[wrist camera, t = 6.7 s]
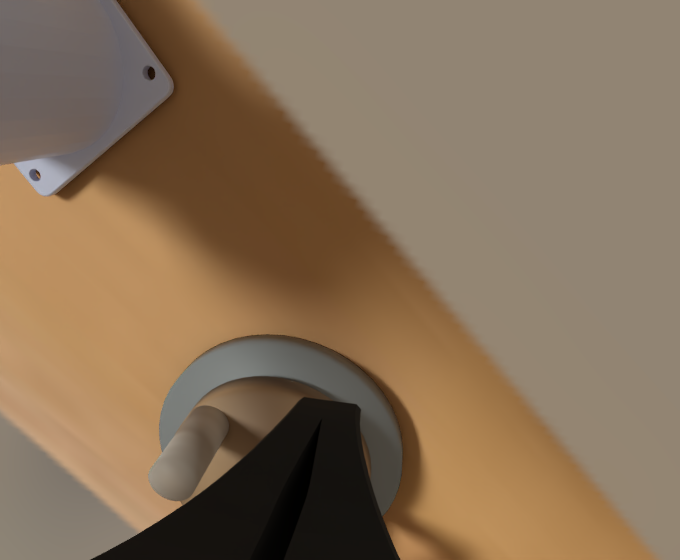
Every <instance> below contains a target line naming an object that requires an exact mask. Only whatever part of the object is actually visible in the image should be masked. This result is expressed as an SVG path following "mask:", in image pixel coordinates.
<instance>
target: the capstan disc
mask: <svg viewBox="0 0 680 560" xmlns="http://www.w3.org/2000/svg"><path fill="white" fill-rule="evenodd" d="M303 397H308V398H315V399H322V400H330V401H333V400H332V399H330V398H329V397H327V396H326V395H324V394H322V393H321V392H319V391H317V390H315V389H313V388H311V387H309V386H307V385H304V384H301V383H299V382H296V381H292V380H288V379H284V378H278V377H270V376H252V377H244V378H239V379H235V380H231V381H229V382H226V383H224V384H221V385H219V386H217V387H216V388H214V389H212V390H211V391H209V392H208V393H207V394H206V395H204V396H203V397H202V398H201V399H200V400H199V401H198V402H197V404H196V405H195V406H194V407H193V409H192V410H191V412H190V413H189V414H188V416H187V417H186V418H185V420H184V421H183V423H182V424H181V425H180V427H179V429H178V430H177V432H176V433H175V436H174V437H173V438H172V440H171V441H170V442H169V444H168V445H167V447H166V448H165V449H164V451H163V452H162V454H161V455H160V456H159V458H158V459H157V461H156V462H155V463H154V465H153V466H152V467H151V469H150V471H149V474H148V478H149V482H150V485H151V487H152V488H153V489H154V490H155V492H157V493H158V494H159V495H160V496H162V497H164V498H166V499H168V500H172V501H181V503H182V505H184V504H186V503H187V502H188V501H190V500H191V499H192V498H194V497H195V496H197V495H198V494H199V493H201V492H202V491H203V490H205V489H206V488H207V487H209V486H210V485H211V484H212V483H214V482H215V481H216V480H217V479H219V478H220V477H221V476H222V475H223V474H225V473H226V472H227V471H228V470H229V469H230V468H232V467H233V466H234V465H235V464H236V463H237V462H239V461H240V460H241V459H242V458H243V457H244V456H245V455H247V454H248V453H249V452H250V451H251V450H252V449H253V448H254V447H255V446H256V445H257V444H258V443H259V442H260V441H261V440H262V439H263V438H264V437H265V436H266V435H267V434H268V433H269V432H270V431H271V430H272V429H273V428H274V427H275V426H276V425H277V424H278V423H279V422H280V421H281V420H282V419H283V418H284V417H285V416H286V415H287V413H288V412H289V411H290V410H291V409H292V408H293V407H294V406H295V404H296V403H297V402H298V401H299V400H300V399H302V398H303ZM360 432H361V431H360ZM361 439H362V446H363V451H364V456H365V460H366V465H367V469H368V473H369V477H370V479H371V458H370V454H369V450H368V446H367V444H366V441H365V439H364V436H363V435H362V433H361Z"/></svg>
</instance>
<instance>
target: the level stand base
mask: <svg viewBox="0 0 680 560" xmlns="http://www.w3.org/2000/svg"><path fill="white" fill-rule="evenodd" d="M252 376H270V377H278V378H284V379H288V380H292V381H296V382H299V383H301V384H304V385H307V386H309V387H311V388H313V389H315V390H317V391H319V392H321V393H322V394H324V395H326V396H327V397H329V398H330V399H332V400H333V401H337V402H344V403H352V404H357V405H358V406H359V407H360V409H361V417H360V431H361V433H362V435H363V436H364V439H365V441H366V444H367V446H368V450H369V454H370V458H371V479H370V480H371V484H372V487H373V491H374V494H375V497H376V500H377V503H378V506H379V509H380V512H381V515H382V516H383V515H384V514H385V513H386V512H387V511H388V509H389V507H390V506H391V504H392V502H393V501H394V499H395V496H396V493H397V491H398V488H399V484H400V480H401V475H402V454H403V444H402V436H401V431H400V427H399V424H398V420H397V418H396V415H395V413H394V411H393V409H392V406H391V405H390V403H389V401H388V400H387V398H386V397H385V395H384V393H383V392H382V391H381V390H380V388H379V387H378V386H377V385H376V383H375V382H374V381H373V380H372V379H371V378H370V377H369V376H368V375H367V374H366V373H365V372H364V371H363V370H361V369H360V368H359V367H358V366H356V365H355V364H354V363H352V362H351V361H350V360H348V359H347V358H345V357H343V356H341V355H340V354H338V353H336V352H335V351H333V350H331V349H328V348H326V347H324V346H321V345H319V344H317V343H313V342H310V341H307V340H303V339H300V338H295V337H289V336H283V335H251V336H246V337H241V338H235V339H232V340H229V341H227V342H224V343H221V344H219V345H217V346H215V347H213V348H211V349H209V350H207V351H206V352H205V353H203V354H202V355H200V356H199V357H198V358H196V359H195V360H194V361H193V362H192V363H191V364H190V365H189V366H188V367H187V368H186V370H185V371H184V372H183V373H182V374H181V376H180V377H179V378H178V379H177V381H176V382H175V383H174V385H173V386H172V387H171V389H170V391H169V393H168V395H167V397H166V399H165V401H164V404H163V408H162V411H161V416H160V423H159V436H160V444H161V449H162V452H163V451H164V449H165V448H166V447H167V445H168V444H169V442H170V441H171V440H172V438H173V437H174V436H175V433H176V432H177V430H178V429H179V427H180V425H181V424H182V423H183V421H184V420H185V418H186V417H187V416H188V414H189V413H190V412H191V410H192V409H193V407H194V406H195V405H196V404H197V402H198V401H199V400H200V399H201V398H202V397H203V396H204V395H206V394H207V393H208V392H209V391H211V390H212V389H214V388H216V387H217V386H219V385H221V384H224V383H226V382H229V381H231V380H235V379H239V378H244V377H252Z"/></svg>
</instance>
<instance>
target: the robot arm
mask: <svg viewBox="0 0 680 560" xmlns="http://www.w3.org/2000/svg"><path fill="white" fill-rule="evenodd" d="M150 67H153V68H154V70H155V78H154V79H153V80H151V79H150V78H149V76H148V69H149V68H150ZM173 89H174V84H173V80H172V78H171V77H170V75H169V74H168V72H167V71H166V69H165V68H164V67H163V65H162V64H161V62H160V61H159V60H158V58H157V57H156V55H155V54H154V53H153V51H152V50H151V48H150V47H149V46H148V44H147V43H146V41H145V40H144V39H143V37H142V36H141V34H140V33H139V32H138V30H137V29H136V27H135V26H134V25H133V23H132V22H131V20H130V19H129V17H128V16H127V15H126V13H125V12H124V10H123V9H122V8H121V6H120V5H119V3H118V2H117V1H116V0H0V165H5V164H11V163H14V164H15V166H16V167H17V168H18V169H19V170H20V172H21V173H22V174H23V175H24V177H25V178H26V179H27V180H28V181H29V183H30V184H31V185H32V186H33V188H34V189H35V190H36V191H37V192H38V193H39V194H40V195H42V196H52V195H54V194H56V193H58V192H59V191H60V190H61V189H62V188H63V187H65V186H66V185H67V184H68V183H69V182H70V181H72V180H73V179H74V178H75V177H76V176H77V175H79V174H80V173H81V172H82V171H83V170H84V169H86V168H87V167H88V166H89V165H90V164H91V163H93V162H94V161H95V160H96V159H97V158H98V157H100V156H101V155H102V154H103V153H104V152H105V151H107V150H108V149H109V148H110V147H111V146H112V145H114V144H115V143H116V142H117V141H118V140H119V139H121V138H122V137H123V136H124V135H125V134H126V133H128V132H129V131H130V130H131V129H132V128H133V127H135V126H136V125H137V124H138V123H139V122H140V121H142V120H143V119H144V118H145V117H146V116H147V115H149V114H150V113H151V112H152V111H153V110H154V109H156V108H157V107H158V106H159V105H160V104H161V103H163V102H164V101H165V100H166V99H167V98H168V97H170V95H171V94H172V93H173ZM36 170H37V171H39V173H40V175H41V178H40V179H39V178H38V177H37V175H36ZM360 417H361V409H360V407H359V406H358V405H357V404H352V403H344V402H337V401H330V400H322V399H315V398H308V397H303V398H302V399H300V400H299V401H298V402H297V403H296V404H295V406H294V407H293V408H292V409H291V410H290V411H289V412H288V413H287V415H286V416H285V417H284V418H283V419H282V420H281V421H280V422H279V423H278V424H277V425H276V426H275V427H274V428H273V429H272V430H271V431H270V432H269V433H268V434H267V435H266V436H265V437H264V438H263V439H262V440H261V441H260V442H259V443H258V444H257V445H256V446H255V447H254V448H253V449H252V450H251V451H250V452H249V453H248V454H247V455H245V456H244V457H243V458H242V459H241V460H240V461H239V462H237V463H236V464H235V465H234V466H233V467H232V468H230V469H229V470H228V471H227V472H226V473H225V474H223V475H222V476H221V477H220V478H219V479H217V480H216V481H215V482H214V483H212V484H211V485H210V486H209V487H207V488H206V489H205V490H203V491H202V492H201V493H199V494H198V495H197V496H195V497H194V498H192V499H191V500H190V501H188V502H187V503H186V504H184V505H183V506H181V507H180V508H178V509H177V510H175V511H174V512H172V513H171V514H169V515H168V516H166V517H165V518H163V519H162V520H160V521H158V522H157V523H155V524H153V525H152V526H150V527H149V528H147V529H145V530H144V531H142V532H141V533H139V534H137V535H136V536H134V537H132V538H130V539H129V540H127V541H125V542H123V543H121V544H119V545H118V546H116V547H114V548H112V549H110V550H108V551H107V552H105V553H103V554H101V555H99V556H97V557H95V558H93V559H91V560H400V558H399V556H398V554H397V552H396V549H395V547H394V545H393V542H392V540H391V538H390V535H389V533H388V530H387V528H386V525H385V523H384V520H383V517H382V515H381V512H380V509H379V506H378V503H377V500H376V497H375V494H374V491H373V487H372V484H371V480H370V477H369V473H368V469H367V465H366V460H365V456H364V451H363V446H362V439H361V432H360Z"/></svg>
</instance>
